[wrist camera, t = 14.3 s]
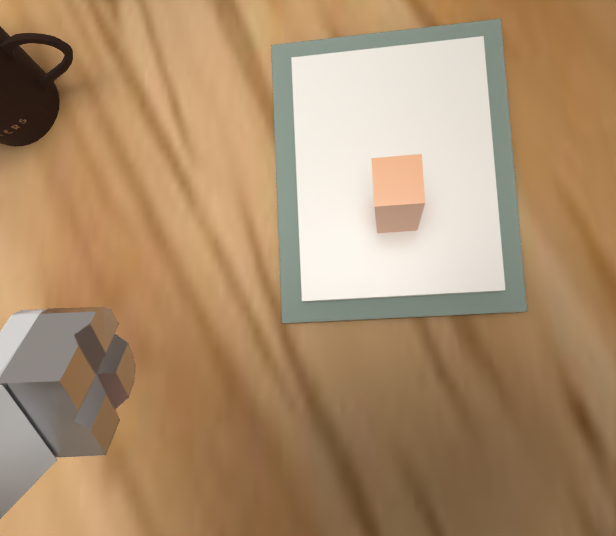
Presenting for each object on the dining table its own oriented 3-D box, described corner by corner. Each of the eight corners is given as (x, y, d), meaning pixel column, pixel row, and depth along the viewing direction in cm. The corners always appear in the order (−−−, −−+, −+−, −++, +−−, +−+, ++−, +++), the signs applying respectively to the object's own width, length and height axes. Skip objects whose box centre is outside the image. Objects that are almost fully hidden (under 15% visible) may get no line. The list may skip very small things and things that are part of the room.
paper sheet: (293, 64, 41) (267, -11, 32) (480, 43, 39) (508, -42, 30) (304, 302, 38) (279, 292, 30) (502, 291, 37) (538, 278, 28)
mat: (272, 49, 42) (271, 45, 41) (498, 23, 39) (500, 18, 39) (283, 323, 39) (282, 323, 39) (524, 311, 37) (527, 311, 36)
